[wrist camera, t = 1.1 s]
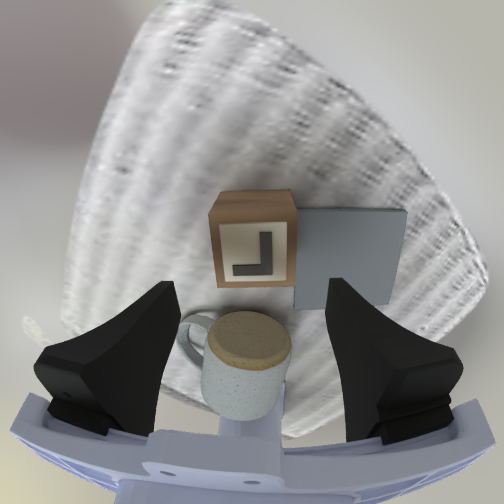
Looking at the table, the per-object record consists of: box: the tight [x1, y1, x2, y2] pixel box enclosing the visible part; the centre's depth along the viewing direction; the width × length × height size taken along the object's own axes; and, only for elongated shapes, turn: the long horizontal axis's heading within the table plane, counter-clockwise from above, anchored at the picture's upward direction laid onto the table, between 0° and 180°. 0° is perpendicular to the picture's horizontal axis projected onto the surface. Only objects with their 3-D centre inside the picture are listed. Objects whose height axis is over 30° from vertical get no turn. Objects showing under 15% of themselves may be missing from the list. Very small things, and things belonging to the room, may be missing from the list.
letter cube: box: [208, 189, 297, 288], centre depth 19 cm, size 5×5×5 cm
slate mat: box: [294, 209, 408, 310], centre depth 22 cm, size 9×9×1 cm
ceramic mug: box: [175, 311, 291, 421], centre depth 23 cm, size 11×8×8 cm
